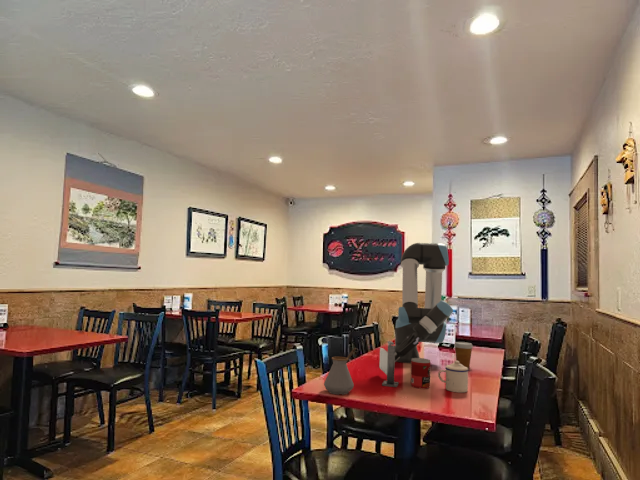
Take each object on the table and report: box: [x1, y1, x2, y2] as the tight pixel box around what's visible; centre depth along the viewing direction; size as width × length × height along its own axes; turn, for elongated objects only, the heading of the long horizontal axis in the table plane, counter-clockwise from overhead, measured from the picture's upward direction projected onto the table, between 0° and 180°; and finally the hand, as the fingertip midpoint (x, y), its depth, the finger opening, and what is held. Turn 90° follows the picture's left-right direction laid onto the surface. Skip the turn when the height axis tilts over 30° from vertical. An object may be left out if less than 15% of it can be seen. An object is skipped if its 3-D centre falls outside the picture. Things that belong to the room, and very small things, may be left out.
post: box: [381, 344, 400, 388], centre depth 185 cm, size 6×6×16 cm
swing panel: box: [379, 340, 395, 376], centre depth 195 cm, size 20×2×14 cm, turn 4°
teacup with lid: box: [437, 360, 469, 394], centre depth 182 cm, size 12×9×12 cm
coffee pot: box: [323, 347, 359, 395], centre depth 175 cm, size 21×12×15 cm, turn 152°
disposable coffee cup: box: [453, 341, 474, 368], centre depth 233 cm, size 10×10×12 cm
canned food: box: [410, 357, 431, 390], centre depth 184 cm, size 8×8×11 cm
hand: (387, 364), depth 199 cm, fingers closed
